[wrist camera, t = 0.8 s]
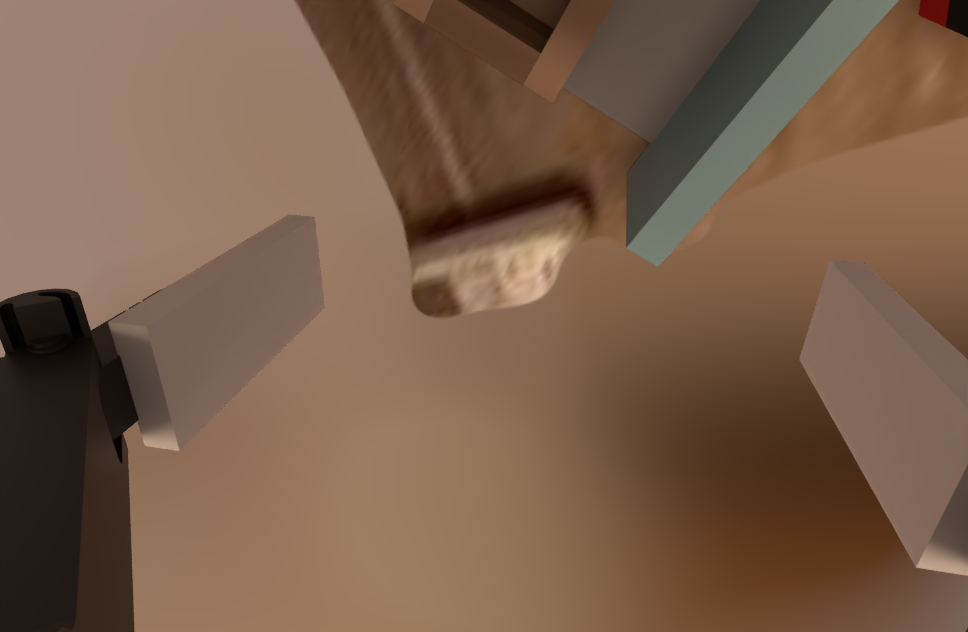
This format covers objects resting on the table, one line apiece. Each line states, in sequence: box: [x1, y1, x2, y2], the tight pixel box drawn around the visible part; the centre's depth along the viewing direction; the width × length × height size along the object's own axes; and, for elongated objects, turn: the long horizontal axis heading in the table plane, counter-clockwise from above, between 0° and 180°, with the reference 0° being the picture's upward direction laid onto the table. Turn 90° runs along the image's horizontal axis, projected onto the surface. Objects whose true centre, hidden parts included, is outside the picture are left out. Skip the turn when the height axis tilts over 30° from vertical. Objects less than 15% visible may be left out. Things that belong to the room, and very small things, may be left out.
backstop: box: [562, 0, 899, 267], centre depth 29 cm, size 16×19×10 cm
